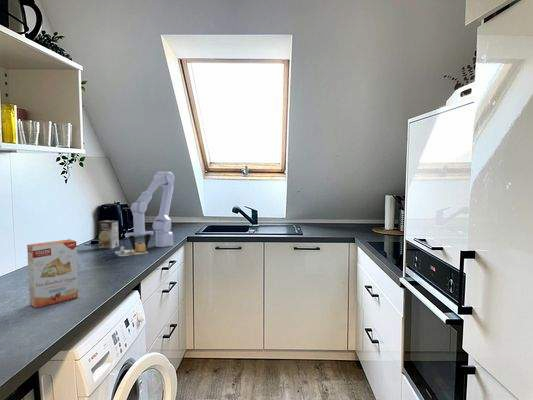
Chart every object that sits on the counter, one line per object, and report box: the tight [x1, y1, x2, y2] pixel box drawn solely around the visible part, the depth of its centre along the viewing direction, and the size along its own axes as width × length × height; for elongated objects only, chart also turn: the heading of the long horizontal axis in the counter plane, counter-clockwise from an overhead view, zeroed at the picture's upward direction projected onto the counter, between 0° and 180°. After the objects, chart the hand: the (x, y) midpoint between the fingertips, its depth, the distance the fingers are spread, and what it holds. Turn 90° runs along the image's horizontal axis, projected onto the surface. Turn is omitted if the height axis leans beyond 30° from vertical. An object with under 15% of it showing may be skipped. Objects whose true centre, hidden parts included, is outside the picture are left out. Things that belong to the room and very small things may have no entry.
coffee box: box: [97, 219, 120, 249], centre depth 214 cm, size 9×6×16 cm
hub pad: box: [114, 251, 130, 256], centre depth 199 cm, size 7×7×1 cm
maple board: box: [114, 249, 149, 257], centre depth 201 cm, size 15×13×1 cm
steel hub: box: [119, 245, 126, 253], centre depth 198 cm, size 2×2×4 cm
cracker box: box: [26, 238, 79, 309], centre depth 129 cm, size 14×6×21 cm, turn 138°
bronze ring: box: [134, 241, 147, 252], centre depth 203 cm, size 6×6×4 cm
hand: (140, 249), depth 203 cm, fingers closed on bronze ring, 6 cm apart
